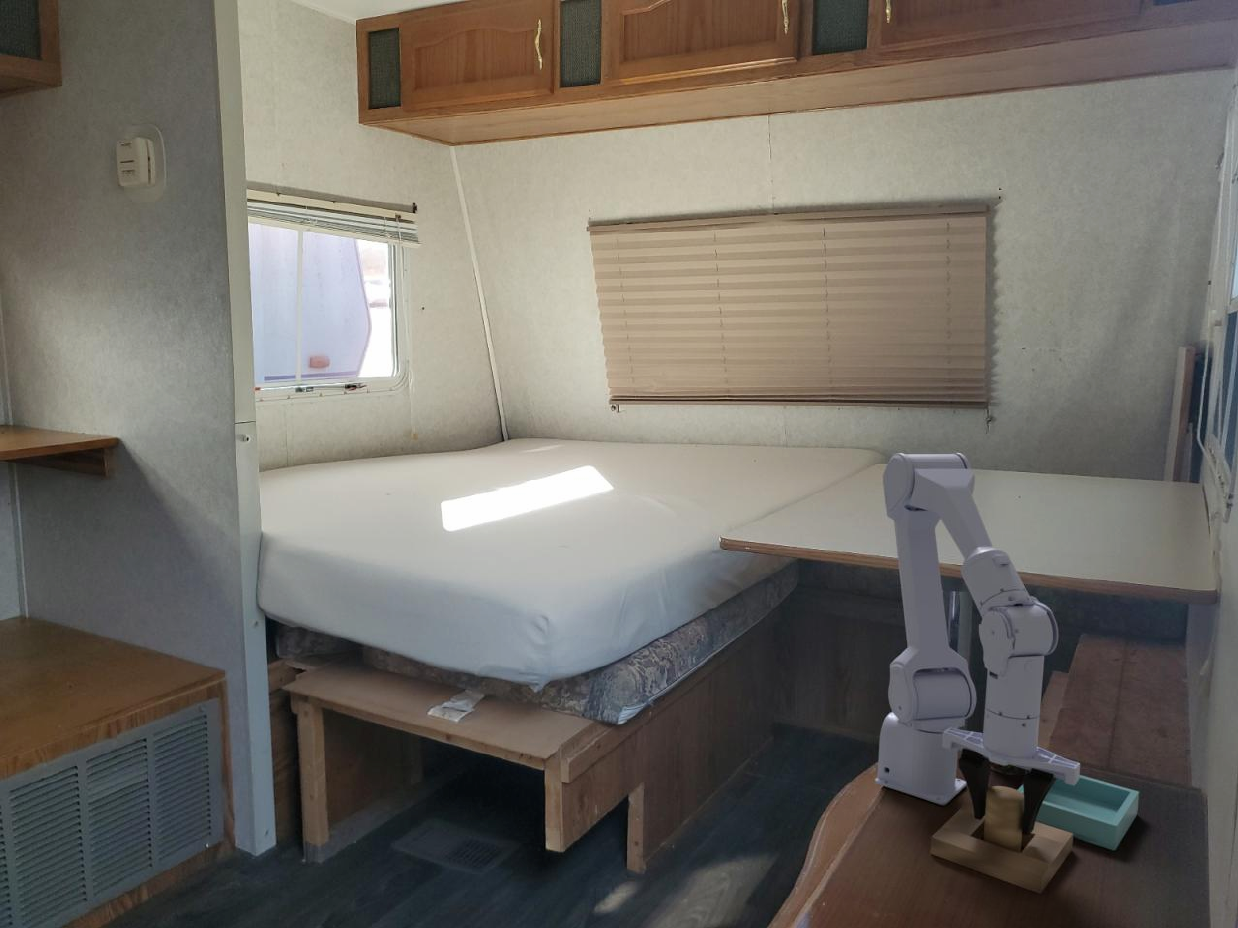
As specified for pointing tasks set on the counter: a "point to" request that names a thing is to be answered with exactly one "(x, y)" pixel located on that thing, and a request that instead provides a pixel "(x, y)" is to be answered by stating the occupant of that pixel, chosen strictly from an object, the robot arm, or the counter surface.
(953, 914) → the counter surface
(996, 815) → the dowel
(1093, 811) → the tray
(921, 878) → the counter surface
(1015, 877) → the socket block
